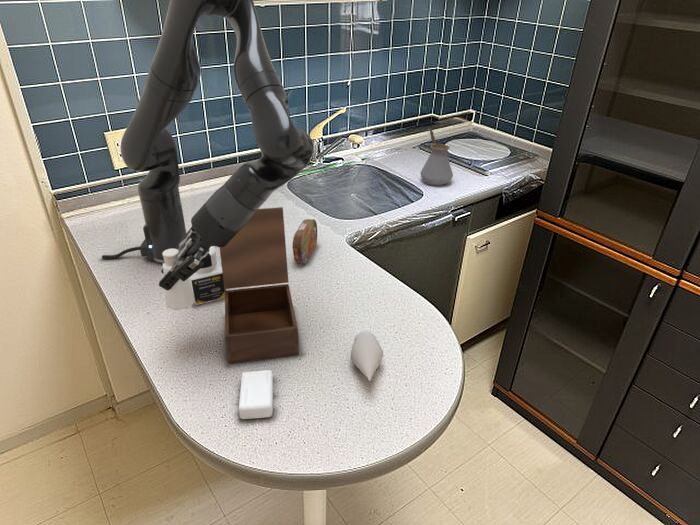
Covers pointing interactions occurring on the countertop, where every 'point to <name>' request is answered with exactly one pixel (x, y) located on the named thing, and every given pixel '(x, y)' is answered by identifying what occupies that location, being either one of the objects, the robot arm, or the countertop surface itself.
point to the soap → (256, 394)
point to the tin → (305, 241)
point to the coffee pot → (437, 165)
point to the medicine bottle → (208, 280)
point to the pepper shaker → (176, 285)
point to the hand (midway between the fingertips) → (164, 280)
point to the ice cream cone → (366, 353)
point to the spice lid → (256, 252)
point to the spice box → (260, 324)
